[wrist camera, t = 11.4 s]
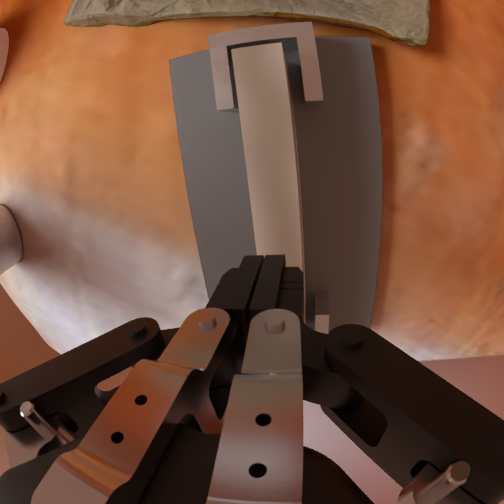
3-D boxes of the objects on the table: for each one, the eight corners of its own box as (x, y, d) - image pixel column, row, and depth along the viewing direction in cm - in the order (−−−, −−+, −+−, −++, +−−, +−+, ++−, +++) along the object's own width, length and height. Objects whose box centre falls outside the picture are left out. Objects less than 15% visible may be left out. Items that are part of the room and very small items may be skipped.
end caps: (259, 337, 25) (253, 361, 22) (221, 46, 15) (207, 35, 13) (325, 337, 24) (326, 362, 21) (310, 36, 14) (311, 21, 11)
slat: (277, 320, 24) (269, 362, 20) (249, 67, 16) (231, 49, 11) (306, 320, 23) (304, 363, 19) (287, 63, 15) (281, 42, 11)
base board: (221, 325, 27) (217, 335, 26) (177, 63, 17) (169, 59, 16) (366, 325, 24) (368, 336, 23) (365, 43, 15) (369, 37, 13)
